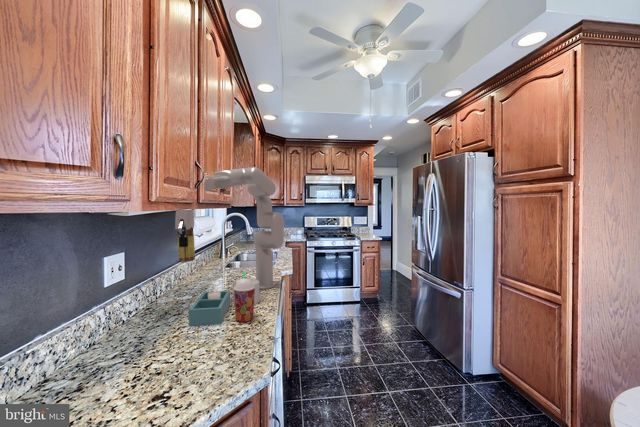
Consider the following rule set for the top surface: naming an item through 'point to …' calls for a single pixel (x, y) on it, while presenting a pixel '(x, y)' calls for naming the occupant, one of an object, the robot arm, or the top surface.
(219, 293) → the cream jar
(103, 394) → the top surface
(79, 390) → the top surface
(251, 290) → the smoothie
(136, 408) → the top surface
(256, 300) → the toilet tissue
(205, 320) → the bottle crate
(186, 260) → the sauce bottle
